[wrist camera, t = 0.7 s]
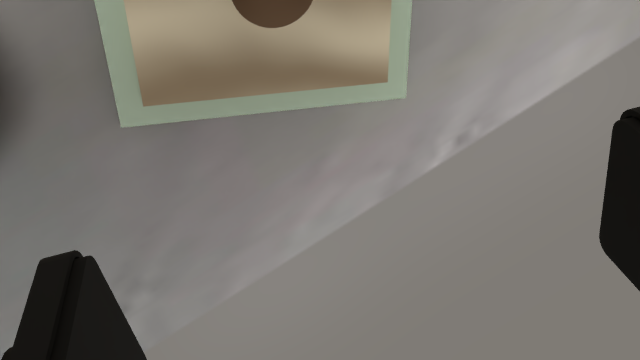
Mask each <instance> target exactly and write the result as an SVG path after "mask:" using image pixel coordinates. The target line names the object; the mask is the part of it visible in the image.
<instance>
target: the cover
mask: <svg viewBox="0 0 640 360" xmlns="http://www.w3.org/2000/svg"><path fill="white" fill-rule="evenodd" d="M391 1H392V0H124V6H125V11H126V16H127V22H128V27H129V33H130V38H131V43H132V49H133V54H134V60H135V65H136V70H137V76H138V81H139V87H140V92H141V97H142V103H143V107H144V106H154V105H164V104H174V103H184V102H194V101H205V100H215V99H225V98H235V97H245V96H255V95H265V94H275V93H285V92H295V91H305V90H315V89H325V88H335V87H345V86H356V85H366V84H376V83H386V82H388V65H389V44H390V22H391Z"/></svg>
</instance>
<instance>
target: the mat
mask: <svg viewBox="0 0 640 360" xmlns="http://www.w3.org/2000/svg"><path fill="white" fill-rule="evenodd" d="M94 2H95V6H96V11H97V16H98V21H99V25H100V30H101V35H102V40H103V44H104V49H105V54H106V59H107V63H108V68H109V73H110V78H111V82H112V87H113V92H114V97H115V101H116V106H117V111H118V116H119V120H120V125H121V128H124V127H134V126H143V125H153V124H162V123H172V122H181V121H191V120H200V119H210V118H220V117H229V116H239V115H248V114H258V113H267V112H277V111H286V110H296V109H306V108H315V107H325V106H334V105H344V104H353V103H363V102H372V101H382V100H392V99H401V98H406V90H407V74H408V58H409V43H410V27H411V12H412V0H392V1H391V22H390V44H389V65H388V82H386V83H376V84H366V85H356V86H345V87H335V88H325V89H315V90H305V91H295V92H285V93H275V94H265V95H255V96H245V97H235V98H225V99H215V100H205V101H194V102H184V103H174V104H164V105H154V106H144V107H143V103H142V97H141V92H140V87H139V81H138V76H137V70H136V65H135V60H134V54H133V49H132V43H131V38H130V33H129V27H128V22H127V16H126V11H125V6H124V0H94Z"/></svg>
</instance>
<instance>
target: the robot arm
mask: <svg viewBox="0 0 640 360" xmlns="http://www.w3.org/2000/svg"><path fill="white" fill-rule="evenodd" d="M599 238H600V243H601V246H602V248H603V250H604V252H605V253H606V255H607V256H608V257H609V258H610V259H611V260H612V261H613V262H614V263H615V264H616V266H617V267H618V268H619V269H620V270H621V271H622V272H623V273H624V274H625V276H626V277H627V278H628V279H629V280H630V281H631V282H632V283H633V284H634V285H635V287H636V288H637V289H638V290H639V291H640V107H637V108H633V109H629V110H626V111H625V112H623V114H622V115H621V118H620V120H618V121H617V122H616V123H615V124H614V126H613V130H612V138H611V146H610V154H609V162H608V170H607V178H606V186H605V194H604V202H603V210H602V217H601V226H600V235H599ZM1 360H147V359H146V357H145V354H144V352H143V351H142V349H141V347H140V345H139V343H138V341H137V339H136V337H135V335H134V333H133V331H132V329H131V328H130V326H129V324H128V322H127V320H126V318H125V316H124V314H123V312H122V310H121V308H120V306H119V305H118V303H117V301H116V299H115V297H114V295H113V293H112V291H111V289H110V287H109V285H108V283H107V282H106V280H105V278H104V276H103V274H102V272H101V270H100V268H99V266H98V264H97V262H96V261H95V259H94V258H93V257H92V256H86V257H83V256H82V254H81V253H80V252H78V251H75V250H74V251H70V252H67V253H63V254H59V255H55V256H51V257H47V258H43V259H42V260H40V262H39V264H38V267H37V270H36V273H35V276H34V280H33V283H32V286H31V289H30V293H29V296H28V299H27V302H26V306H25V309H24V312H23V315H22V319H21V322H20V325H19V328H18V332H17V335H16V338H15V341H14V345H13V347H12V348H9V349H8V350H7V351H6V352H5V353H4V355H3V357H2V359H1Z"/></svg>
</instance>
